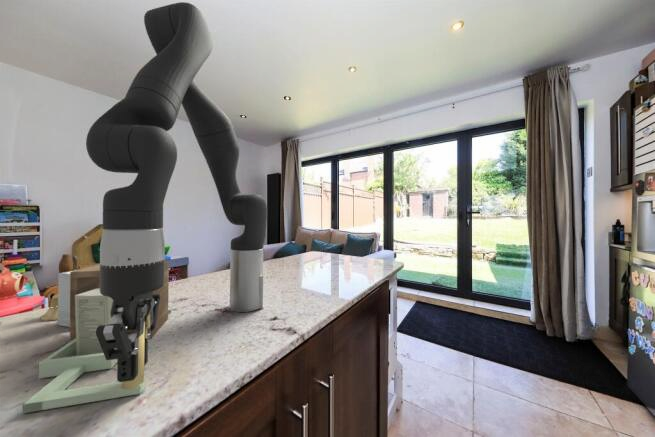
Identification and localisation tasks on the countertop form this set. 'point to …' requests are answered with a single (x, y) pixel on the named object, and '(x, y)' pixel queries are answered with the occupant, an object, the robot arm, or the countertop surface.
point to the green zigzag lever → (71, 369)
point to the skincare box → (90, 320)
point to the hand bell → (52, 313)
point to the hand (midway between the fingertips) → (133, 371)
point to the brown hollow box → (91, 280)
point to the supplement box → (64, 299)
